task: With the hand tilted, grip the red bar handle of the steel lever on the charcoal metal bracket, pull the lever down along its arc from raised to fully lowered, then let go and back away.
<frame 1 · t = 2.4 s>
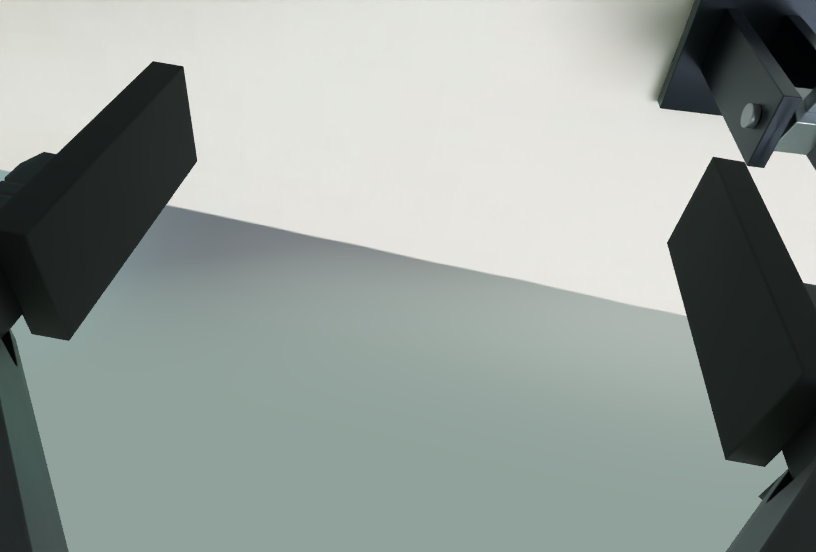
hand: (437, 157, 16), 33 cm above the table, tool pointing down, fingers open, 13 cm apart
bracket: (744, 37, 44), on the table
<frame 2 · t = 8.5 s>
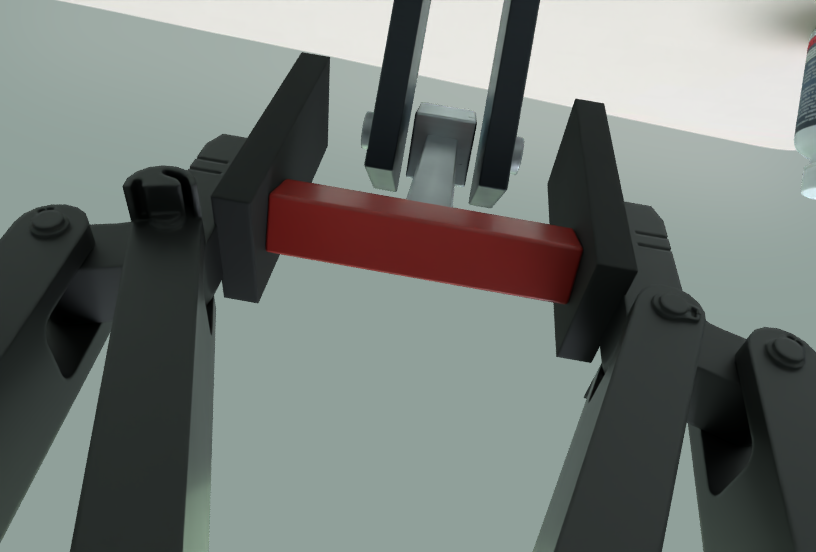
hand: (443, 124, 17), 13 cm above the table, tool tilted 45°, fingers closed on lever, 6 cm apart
lever: (435, 175, 19), point 14 cm above the table, hinge at 25.0°, touching gripper
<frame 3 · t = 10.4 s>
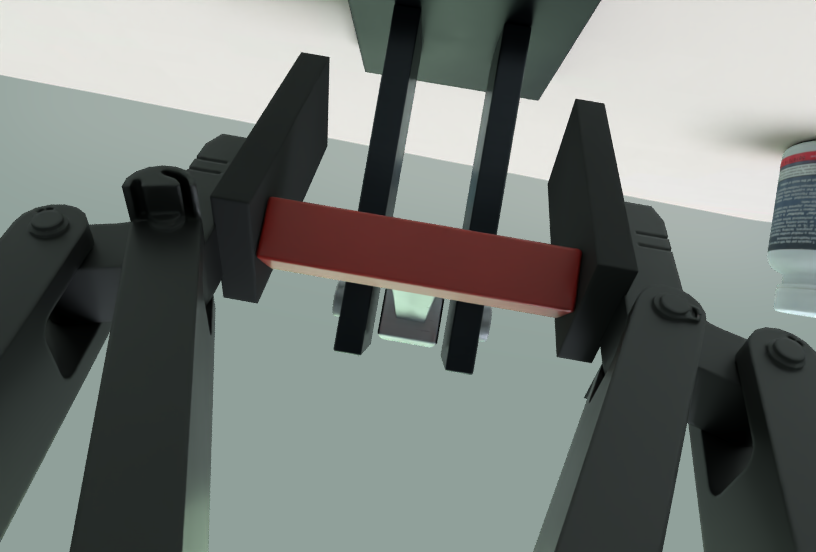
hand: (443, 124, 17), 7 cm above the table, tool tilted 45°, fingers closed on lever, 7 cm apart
bracket: (464, 10, 24), on the table
lever: (414, 294, 19), point 11 cm above the table, hinge at -7.6°, touching gripper
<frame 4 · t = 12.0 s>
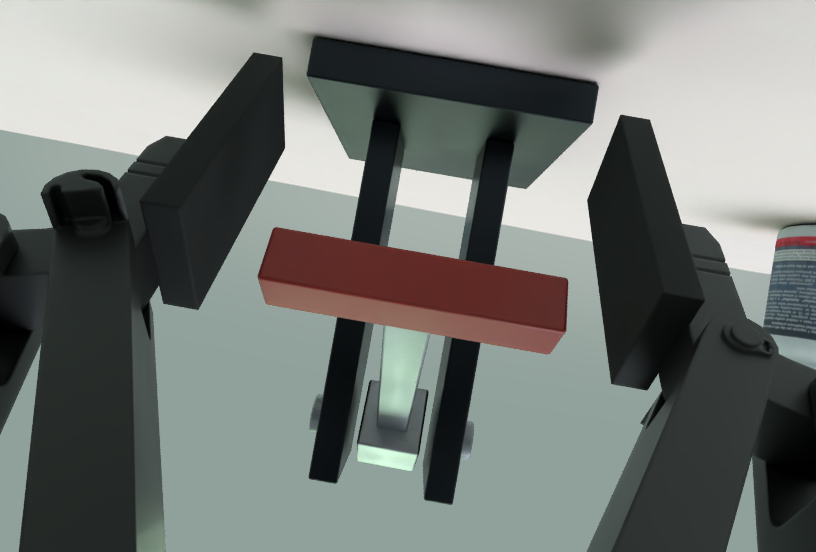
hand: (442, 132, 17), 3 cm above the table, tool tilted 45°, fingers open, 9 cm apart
bracket: (447, 114, 23), on the table
lever: (399, 380, 19), point 10 cm above the table, hinge at -27.7°
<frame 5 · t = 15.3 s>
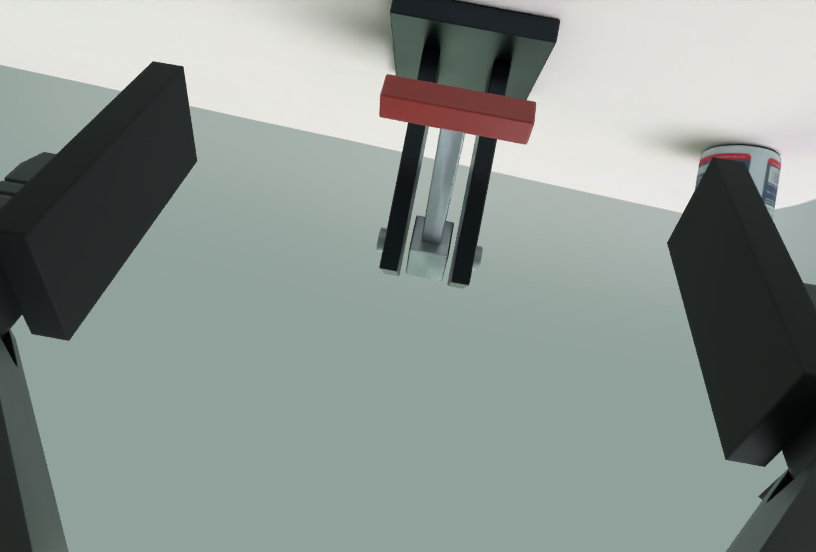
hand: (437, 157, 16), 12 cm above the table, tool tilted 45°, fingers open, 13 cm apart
bracket: (468, 50, 36), on the table
lever: (440, 194, 31), point 10 cm above the table, hinge at -27.7°
pill bottle: (741, 152, 45), on the table
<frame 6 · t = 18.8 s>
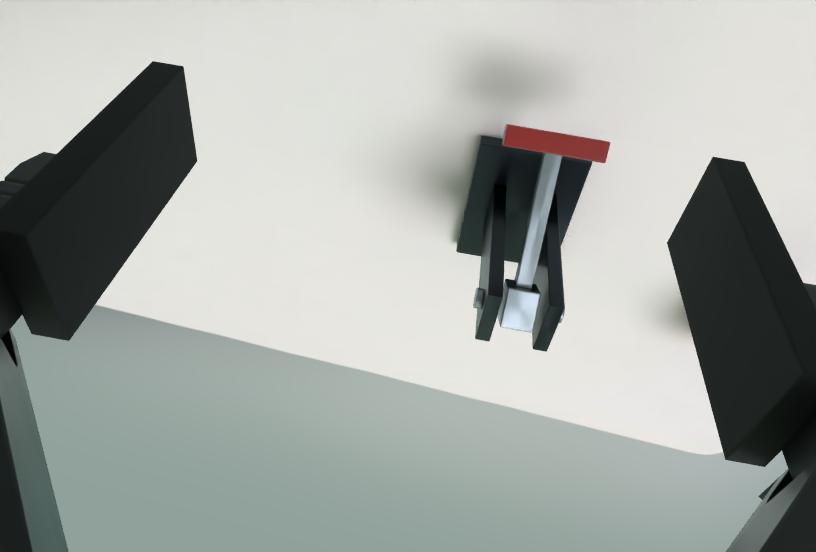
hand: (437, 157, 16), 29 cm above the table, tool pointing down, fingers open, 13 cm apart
bracket: (519, 202, 51), on the table
lever: (534, 232, 41), point 10 cm above the table, hinge at -27.7°
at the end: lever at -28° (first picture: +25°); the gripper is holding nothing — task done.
